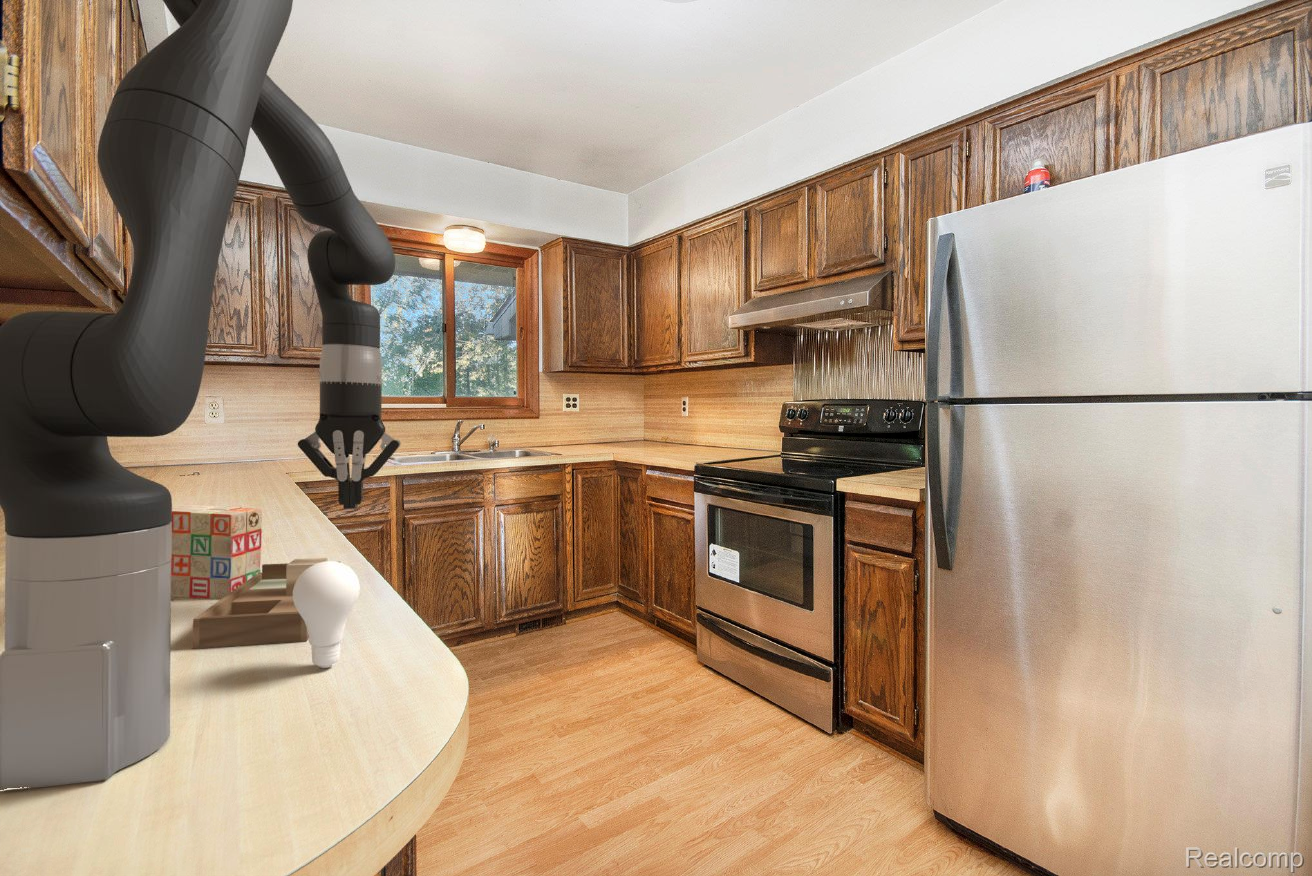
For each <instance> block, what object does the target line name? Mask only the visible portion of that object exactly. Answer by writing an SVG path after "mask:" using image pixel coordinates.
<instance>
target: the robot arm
mask: <svg viewBox="0 0 1312 876" xmlns="http://www.w3.org/2000/svg"><path fill="white" fill-rule="evenodd" d="M162 1H163V3H164V5H165V7H166V8H167V10H168V11H169V12H170V14H171V15H172V17H173V19H174V20H175V21H176V23H177V24H178V26H179V27H178V28H177V29H176V30H175V31H173V32H172V33H171V34H170V35H168V36H167V37H166V38H164V39H163V40H162V41H161V42H159V44H157V45H156V46H155V47H153V48H152V49H151V50H149V52H147V53H146V54H145V55H144V56H143V57H142V58H141V59H139V60H138V62H137V63H135V64H134V65H133V66H132V68H131V69H129V71H128V72H127V73H126V74H125V75H124V77H123V78H122V79H121V81H120V82H119V84H118V86H117V88H116V91H115V92H114V95H113V97H112V100H111V103H110V107H109V109H108V111H107V115H106V118H105V121H104V123H103V127H102V130H101V133H100V136H99V140H98V145H97V154H96V155H97V156H96V157H97V164H98V168H99V172H100V175H101V177H102V180H103V183H104V185H105V187H106V190H107V192H108V195H109V197H110V198H111V200H112V202H113V205H114V206H115V209H116V210H117V212H118V214H119V216H120V217H121V219H122V222H123V224H124V225H125V227H126V230H127V232H128V234H129V237H130V239H131V242H132V248H133V264H132V271H131V274H130V280H129V284H128V288H127V290H126V291H127V292H126V295H125V297H124V300H123V302H122V305H121V306H120V307H119V309H118V311H116V313H115V312H94V311H93V312H92V311H90V312H89V311H88V312H87V311H85V312H84V311H66V310H65V311H64V310H62V311H61V310H58V311H57V310H56V311H55V310H37V311H27V312H23V313H20V314H16V315H15V316H13V317H11V318H8V319H7V320H6V321H5V322H3V323H2V324H1V325H0V508H1V509H2V511H3V515H4V532H5V543H4V544H5V550H4V551H5V561H4V562H5V563H4V564H5V567H4V568H5V570H4V572H5V573H4V651H2V653H0V790H4V789H7V788H20V787H22V788H24V787H27V789H29V788H28V787H36V788H42V787H43V786H44V787H49V786H50V787H52V785H53V786H60V785H61V786H62V785H69V784H79V783H86V782H94V781H95V782H97V781H104V780H107V779H109V778H110V777H111V776H113V774H114V773H116V772H117V771H119V770H121V769H123V768H126V767H128V766H129V765H132V764H135V763H136V762H137V763H138V762H139V761H141V760H143V759H146V757H148V756H150V755H152V754H154V753H155V752H156V751H157V750H158V749H159V750H160V748H162V747H163V746H164V744H166V742H167V741H168V739H169V738H170V734H171V642H172V641H171V638H172V637H171V634H172V633H171V631H172V629H171V628H172V627H171V625H172V624H171V623H172V622H171V621H172V619H171V618H172V617H171V616H172V615H171V613H172V610H171V609H172V596H171V556H172V522H171V521H172V507H173V501H172V500H173V499H172V494H171V492H170V490H169V489H168V488H167V487H166V486H165V485H163V484H161V483H159V482H156V481H154V480H151V479H148V478H145V477H144V476H141V475H139V474H136V473H134V472H133V471H131V470H129V469H127V468H126V467H125V466H123V465H122V464H120V463H119V461H117V460H116V458H114V456H113V455H112V454H111V450H110V447H109V442H108V437H109V438H110V437H111V438H154V437H155V438H156V437H162V436H165V435H169V434H172V433H174V432H175V431H176V430H178V429H179V428H180V427H181V426H182V425H183V424H185V422H186V421H187V419H188V417H189V416H190V415H191V413H192V411H193V409H194V407H195V405H196V402H197V399H198V395H199V393H200V392H199V391H200V388H201V384H202V381H203V374H204V368H205V360H206V352H207V344H208V335H209V328H210V327H209V326H210V317H211V308H212V301H213V294H214V287H215V280H216V274H217V269H218V266H219V265H218V263H219V260H220V259H219V258H220V255H221V249H222V244H223V241H224V236H225V233H226V227H227V224H228V219H229V215H230V212H231V208H232V205H233V202H234V199H235V196H236V192H237V189H238V186H239V182H240V178H241V175H242V171H243V169H242V168H243V167H244V161H245V157H246V151H247V145H248V139H249V136H250V131H251V130H252V131H253V133H254V134H255V135H256V137H257V139H258V141H259V143H260V145H261V146H262V147H263V149H264V150H265V152H266V155H267V156H268V158H269V160H270V161H271V163H272V165H273V167H274V168H275V169H274V170H275V171H276V173H277V175H278V177H279V179H280V181H281V183H282V185H283V187H284V189H285V191H286V192H287V194H288V196H289V198H290V200H291V202H292V204H293V206H294V208H295V209H296V212H297V213H298V214H299V216H300V217H301V219H303V220H304V221H305V222H307V223H309V224H312V225H314V226H319V227H322V228H326V229H328V230H321V231H320V232H317V233H316V234H315V235H314V236H313V237H312V238H311V240H310V242H309V245H308V248H307V251H306V252H307V256H306V257H307V264H308V265H307V266H308V269H309V272H310V275H311V279H312V283H313V285H314V289H315V291H316V295H317V301H318V304H319V307H320V312H321V318H322V319H321V320H322V322H321V326H322V327H321V328H322V329H321V331H322V333H321V339H322V340H321V344H322V345H321V353H320V359H319V371H318V379H319V419H318V420H317V424H316V425H315V426H314V432H313V433H311V434H310V435H308V436H307V437H305V438H303V439H302V438H301V439H300V440H298V441H297V447H298V448H299V449H300V450H301V451H302V452H303V454H304V455H305V456H306V458H308V459H309V460H310V462H311V463H312V464H313V465H314V466H315V467H316V469H318V471H319V472H320V474H322V475H323V477H327V478H332V479H334V480H336V482H338V483H337V484H338V485H337V488H338V489H337V490H338V492H337V494H338V495H337V496H338V497H337V501H338V503H339V505H340V506H342V507H343V509H344V510H356V509H357V508H358V505H361V504H362V502H363V500H364V480H365V479H367V478H370V477H374V476H375V475H376V474H377V473H378V472H379V471H380V470H381V469H383V467H384V465H385V464H386V463H387V462H388V461H389V459H390V458H391V457H392V456H393V455H394V454H395V453H396V452H397V450H398V449H399V448H400V447H401V445H402V443H401V441H400V440H399V439H395V438H393V437H392V436H391V435H390V434H388V433H387V432H386V427H385V425H384V423H383V420H382V394H383V393H382V391H383V390H382V389H383V385H382V384H383V365H382V357H381V316H380V311H379V309H378V308H377V307H375V306H373V305H371V304H370V303H366V302H362V301H357V300H353V298H352V296H351V294H350V291H349V287H348V286H379V285H384V284H386V283H388V282H389V281H390V280H391V278H392V277H393V275H394V273H395V270H396V255H395V252H394V248H393V246H392V244H391V242H390V240H389V238H388V237H387V235H386V234H385V232H384V231H383V229H382V227H380V225H379V224H378V223H377V221H376V220H375V219H374V218H373V216H372V215H371V214H370V213H369V211H368V210H367V209H366V207H365V205H363V203H362V202H361V201H360V200H359V199H358V197H357V195H356V194H355V192H354V191H353V187H352V185H351V183H350V180H349V179H348V176H347V174H346V171H345V169H344V167H343V164H342V161H341V159H340V157H339V155H338V153H337V152H336V149H335V148H334V146H333V144H332V143H331V141H330V139H329V138H328V136H327V135H326V134H325V132H324V131H323V130H322V128H321V127H320V126H319V125H318V124H317V123H316V122H315V121H314V119H312V117H310V116H309V114H307V113H306V112H305V111H304V110H303V108H301V106H299V105H298V104H297V103H296V102H295V101H294V100H292V98H291V97H289V96H288V94H286V92H284V91H283V89H282V88H281V87H279V86H278V84H276V83H275V82H274V81H273V79H272V78H271V77H270V76H269V75H268V71H269V68H270V66H271V63H272V60H273V59H274V57H275V54H276V51H277V50H278V47H279V45H280V42H281V40H282V38H283V36H284V33H285V31H286V28H287V26H288V22H289V21H290V17H291V13H292V9H293V4H294V3H293V2H294V0H162ZM380 440H381V443H380V445H379V448H380V450H382V451H381V452H380V453H379V454H378V456H376V458H375V459H374V461H372V463H371V464H370V465H369V466H368V467H365V463H366V460H367V459H366V458H367V454H369V453H370V452H371V451H372V450H373V449H374V447H376V445H377V444H378V443H379V441H380ZM321 442H322V443H323V444H324V446H326V448H327V449H328V450H329V451H330V453H332V454H333V455H334V462H335V466H334V465H333V464H332V462H330V460H329V459H328V458H327V457H326V456H325V454H324V453H323V452H322V451H321V450H320V449H321V448H322V444H321ZM350 455H352V458H350V457H351V456H350ZM350 459H351V465H350ZM350 467H351V468H350Z"/></svg>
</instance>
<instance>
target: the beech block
mask: <svg viewBox="0 0 1312 876" xmlns="http://www.w3.org/2000/svg"><path fill="white" fill-rule="evenodd" d="M326 561H329V560H328V557H309V558H294V559H293V560H292V561H290V562H289V564H288V565H287V566H286V596H293V589H294V585H295V583H296V581H297V579H298V578H299V576H300V575H301V574H302V573H303V572H304V571H305V570H306V569H308V568H309V567H311V566H313V565H315V564H317V563H321V562H326Z"/></svg>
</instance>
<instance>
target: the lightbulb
mask: <svg viewBox="0 0 1312 876" xmlns="http://www.w3.org/2000/svg"><path fill="white" fill-rule="evenodd" d="M339 562H340V561H332V560H331V561H330V560H328V561H326V562H321V563H317V564H315V565H313V566H311V567H309V568H308V569H306V570H305V571H304V572H303V573H302V574H301V575H300V576H299V578H298V579H297V581H296V583H295V585H294V589H293V601H294V605H295V607H296V609H297V610H298V612H299V614H300V615H301V617H302V618H303V620H304V622H305V624H306V626H307V630H308V634H309V639H308V643H309V645H310V646H311V662H312V664H313V665H314V666H318V667H320V668H321V669H327V668H331V667H332V666H333V664H336V663H337V662H338V661H339V660H340V656H341V643H342V641H343V638H344V633H345V626H346V622H347V620H348V617H349V616H350V614H351V612H352V610H353V609H354V607H355V605H356V602H357V601H358V599H359V595H360V590H361V589H360V588H361V587H360V586H361V585H360V581H359V578H358V575H357V574H356V573H355V571H354V570H353V569H352V568H351V567H350V566H348V565H346V564H344V563H342V562H340V563H339Z"/></svg>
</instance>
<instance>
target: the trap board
mask: <svg viewBox="0 0 1312 876" xmlns="http://www.w3.org/2000/svg"><path fill="white" fill-rule="evenodd" d="M338 562H339V563H341V561H338ZM289 563H290V562H289ZM289 563H287V562H286V563H263V564H262V565H261V572H260V573H258V574H256V575H255V576H253V577H252V578H251V579H249V580H248V581H246V582H245V583H243V584H242V585H241V586H239V587H238V588H236V589H235V590H234V591H232V592H231V593H229V594H228V595H227V596H225V597H224V598H222V599H218V601H216V602H215V603H214V604H212V605H211V606H210V607H208V608H207V609H206V610H204V611H203V612H201V613H200V614H198V615H197V616H196V617H194V618H192V619H193V620H192V649H193V650H197V649H211V648H212V649H213V648H227V647H238V646H239V647H241V646H244V647H245V646H257V645H273V644H283V643H282V642H289V643H299V642H300V641H301V642H302V641H304V642H308V641H309V639H308V638H309V634H308V630H307V626H306V624H305V622H304V620H303V618H302V617H301V615H300V614H299V612H298V610H297V609H296V607H295V605H294V601H293V596H286V566H287V565H288V564H289ZM301 642H300V643H301Z"/></svg>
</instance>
